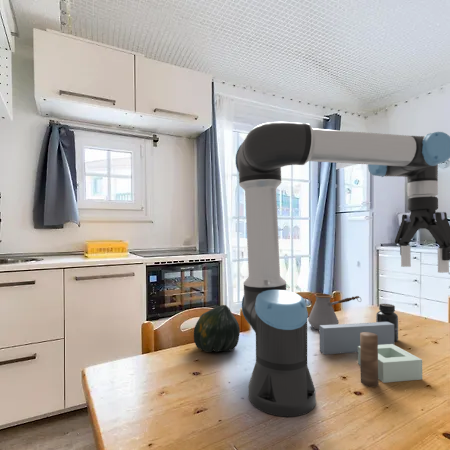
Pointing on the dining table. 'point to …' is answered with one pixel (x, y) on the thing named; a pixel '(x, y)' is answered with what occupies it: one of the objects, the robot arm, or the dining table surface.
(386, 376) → the socket block
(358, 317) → the dining table surface
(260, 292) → the robot arm
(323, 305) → the coffee pot
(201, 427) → the dining table surface
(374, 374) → the dowel
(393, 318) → the supplement bottle
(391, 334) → the wall
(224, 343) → the squash
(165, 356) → the dining table surface
